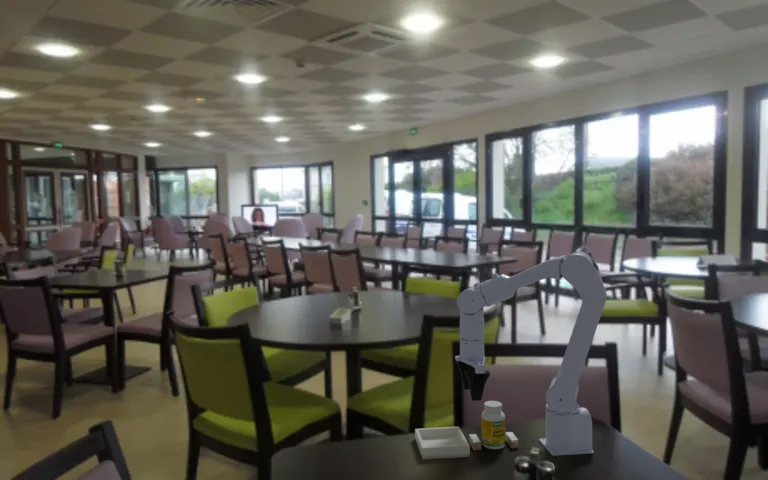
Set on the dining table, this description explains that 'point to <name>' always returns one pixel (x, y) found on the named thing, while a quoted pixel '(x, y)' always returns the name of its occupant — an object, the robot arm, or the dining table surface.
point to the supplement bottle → (493, 425)
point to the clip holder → (509, 438)
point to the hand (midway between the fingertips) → (472, 394)
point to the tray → (441, 443)
